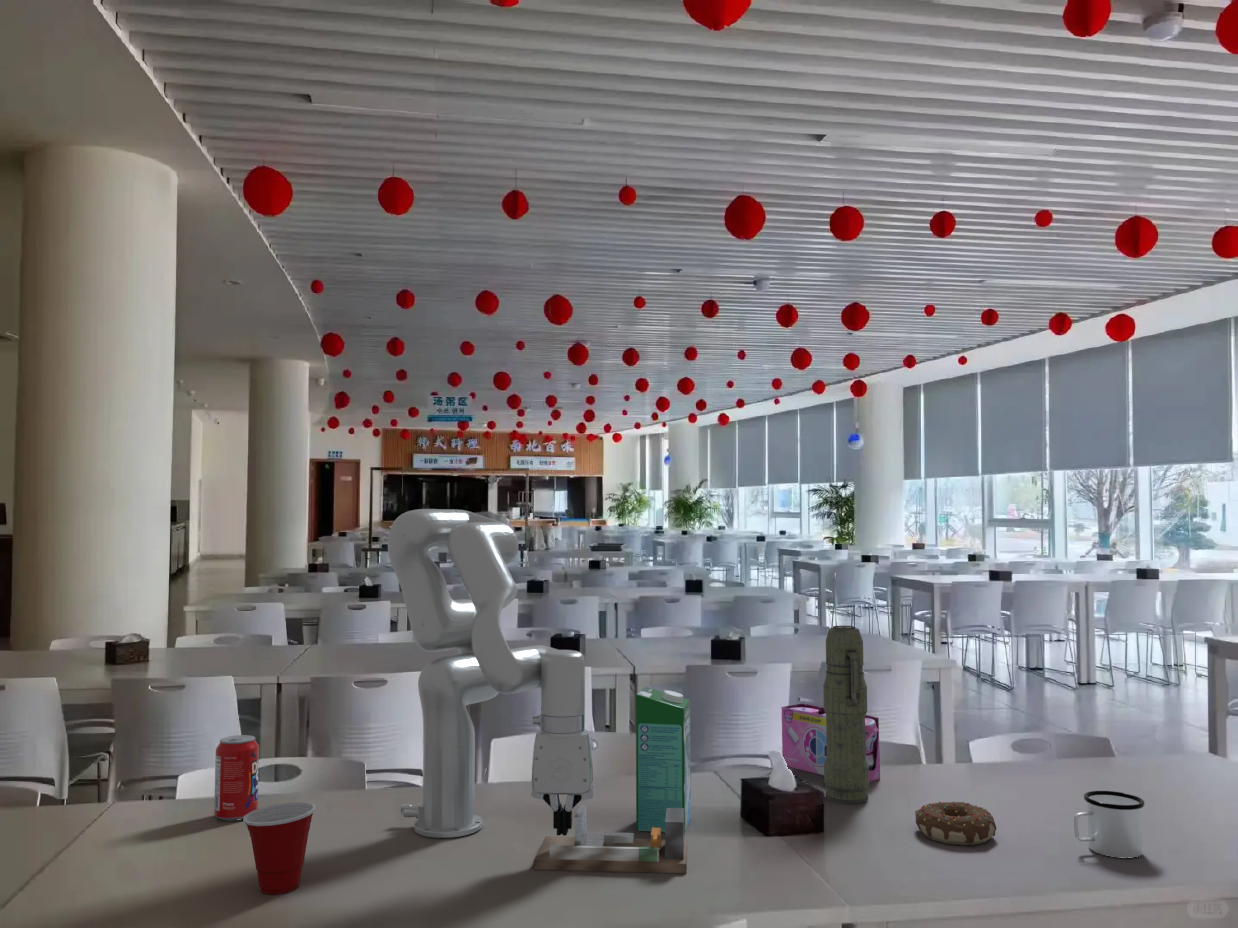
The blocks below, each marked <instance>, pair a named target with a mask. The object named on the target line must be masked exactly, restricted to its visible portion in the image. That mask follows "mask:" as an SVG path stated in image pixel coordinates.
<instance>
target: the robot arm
mask: <svg viewBox="0 0 1238 928" xmlns="http://www.w3.org/2000/svg"><path fill="white" fill-rule="evenodd" d="M387 552H388V557H389V561H390V564H391V566H392V569H393V572H394V574H395V575H396V576H395V577H396V578H397V582H398V583H399V586H400V589H401V593H402V596H403V602H404V605H405V609H406V612H407V613H406V614H407V616H408V621H409V624H410V628H411V632H412V636H413V638H414V641H415V643H416V645H417V647H418V648H419V649H420V650H422V651H423V652H428V653H434V652H435V653H437V652H439V653H440V652H445V651H451V650H457V652H458V654H454V655H447V656H442V657H439V658H435V659H433V660H431V661H430V662H428V663H427V664H425V666H424V667H423V668H422V669H421V671H420V673H419V677H418V681H417V683H418V684H417V686H418V695H419V701H420V706H421V713H422V730H423V731H422V738H423V739H422V740H423V741H422V743H423V744H422V745H423V747H422V749H423V750H422V755H423V756H422V764H423V765H422V802H418V803H417V804H412V803H402V804H401V806H400V815H403V816H402V817H403V818H415V819H416V820H415V822H414V824H413V831H414V832H415V833H416V834H418V835H420V836H422V837H427V838H434V839H435V838H437V839H447V838H448V839H450V838H458V837H464V836H469V835H471V834H474V833H477V832H478V831H480V830H481V829H482V827H483V825H484V823H483V818H482V817H481V816H480V815H478V814H475V789H476V788H475V782H476V781H475V779H476V778H475V769H476V768H475V766H476V765H475V764H476V763H475V761H476V759H475V758H476V757H475V756H476V755H475V754H476V750H475V749H476V747H475V745H476V744H475V742H476V741H475V739H476V735H475V732H476V731H475V726H474V723H473V720H472V718H471V715H470V714H469V712H468V710H467V709H468V708H467V706H468V705H474V704H477V703H481V702H485V701H489V700H491V699H494V698H495V697H496V696H497V695H499V694H503V695H512V694H516V693H517V694H518V693H521V692H526V691H531V690H537V689H540V714H539V715H537V716H532V725H536V726H538V727H539V729H540V730H538V731H536V733H535V737H534V744H533V752H532V753H533V754H532V764H531V793H530V796H531V797H532V798H535V799H539V800H542V801H544V802H545V803H546V804H547V805H548V806H549V807H550V808H551V811H552V814H553V817H552V821H553V822H552V823H553V829H556V836H561V835H562V837H567V834H568V832H569V830H572V827H573V809H574V808H575V807H576V806H577V805H578V804H579V803H580V802H581V801H586V800H590V799H593V798H594V796H595V792H594V791H595V790H594V787H593V779H594V770H593V755H592V745H591V739H590V737H591V736H590V734H589V731H588V730H587V729H586V724H585V723H586V715H585V714H586V710H585V709H586V702H585V701H586V700H585V699H586V683H585V682H586V681H585V680H586V678H585V677H586V670H585V669H586V663H585V656H584V655H583V653H582V652H580V651H578V650H573V649H558V648H554V647H551V646H547V645H544V644H543V645H542V644H537V645H529V646H522V647H516V648H515V647H514V648H510V646H509V645H508V642H507V640H506V638H505V636H504V634H503V631H502V627H501V621H500V620H501V619H500V618H501V613H502V610H503V609H504V608H506V607H507V606H509V604H511V603H512V602H514V600H515V598H516V597H517V594H518V592H519V591H518V586H517V583H516V582H515V581H514V578H513V576H512V573H511V572H510V570H509V568H508V566H507V565H509V564H511V563H512V562H513V561H515V559H516V557H517V555H518V553H519V540H518V537H517V535H516V533H515V532H514V530H513V529H512V527H510V526H509V525H508V524H506V523H504V522H501V521H500V520H496V519H493V518H490V517H488V516H484V515H481V514H478V513H475V512H472V511H469V510H465V509H453V508H451V509H449V508H448V509H446V508H445V509H444V508H443V509H441V508H440V509H439V508H438V509H437V508H420V509H419V508H418V509H413V510H407V511H406V512H404V513H401V514H400V515H399V516H398V517H397V518H395V519H394V521H393V523H392V524H391V526H390V529H389V533H388V535H387ZM433 553H437V554H438V553H448V554H449V556H450V557H451V560H452V562H453V564H454V566H455V569H456V571H457V574H458V575H459V578H460V580H461V582H462V584H463V585H464V587H465V590H466V593H467V594H468V596H469V598H470V599H467V598H466V599H465V598H464V599H463V598H462V599H453V598H452V596H451V595H450V591H449V589H448V586H447V580H446V578H445V576H444V574H443V571H441V569H440V567H439V566H438V565H437V564H436V563H435V561H433V559H431V557H430V554H433ZM560 795H566V799H565V800H566V801H565V804H564V805H563V806H562V803H561V798H560Z"/></svg>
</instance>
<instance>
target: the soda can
mask: <svg viewBox="0 0 1238 928" xmlns="http://www.w3.org/2000/svg"><path fill="white" fill-rule="evenodd" d="M259 753H260V745H259V744H258V741H256V736H254V735H251V734H250V735H249V734H248V735H247V734H238V735H230V736H224V737H222V738H220V739H219V743H218V745H217V746H216V748H215V758H214V759H215V761H214V762H215V763H214V764H215V765H214V767H215V768H214V807H213V808H214V809H213V810H214V816H215V818H218V819H220V820H221V819H223V820H222V821H225V820H237V819H243V818H244V816H245V815H247V814H248V813H250V812H252V811H254V810H257V809H259V807H258V806H259V758H260V757H259V756H260V755H259ZM237 821H238V820H237Z"/></svg>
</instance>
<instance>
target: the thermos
mask: <svg viewBox="0 0 1238 928" xmlns="http://www.w3.org/2000/svg"><path fill="white" fill-rule="evenodd" d="M825 665H826V670H825V676H826V677H825V680H824V682H823V685H822V687H823V689H822V690H823V707H824V711H825V714H826V738H827V758H826V761H825V763H824V775H823V776H824V779H823V780H824V783H823V784H824V786H825V796H826V797H825V798H826V799H827V800H828V801H831V802H834V803H835V802H836V803H840V804H855V805H856V804H863V803H866V802H867V801H868V800H869V787H870V782H869V766H868V763H867V761H866V742H865V716H866V715H867V713H868V685H867V684H866V680H865V674H864V671H863V670H864V669H863V666H864V640H863V637H862V633H861V630H860V629H859V628H858V627H857V628H856V626H853V625H833V626H832V627H829V629H828V632H827V635H826V639H825Z"/></svg>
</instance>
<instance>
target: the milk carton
mask: <svg viewBox="0 0 1238 928" xmlns="http://www.w3.org/2000/svg"><path fill="white" fill-rule="evenodd" d="M691 768H692V767H691V700H690V699H688V698H685V697H684V695H683V694H682V693H680V692H677V691H673V690H670V689H669V690H668V689H664V690H663V691H661V690H659V689H658V690H657V689H656V688H655V689H654V688H651V687H648V686H644V687H643V688H642V689H641V690H639V691H638V692H637V693H636V695H635V789H636V790H635V796H636V797H635V799H636V800H635V807H636V808H635V819H636V821H635V822H636V824H635V825H636V826H635V827H636V829H635V830H636V831H639V832H650V833H651V831H652V828H661V833H665V818H666V809H667V808H684V834H685V833H686V831H687V828H688V826H689V824H690V822H691V819H692V814H691V813H692V812H691V810H692V808H691V807H692V803H691V802H692V801H691V800H692V792H691V791H692V789H691V786H692V785H691V783H692V779H691V778H692V777H691V776H692V775H691V774H692V773H691Z"/></svg>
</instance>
